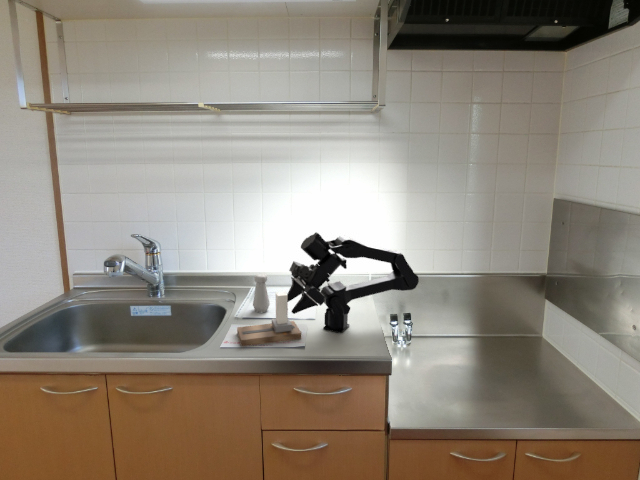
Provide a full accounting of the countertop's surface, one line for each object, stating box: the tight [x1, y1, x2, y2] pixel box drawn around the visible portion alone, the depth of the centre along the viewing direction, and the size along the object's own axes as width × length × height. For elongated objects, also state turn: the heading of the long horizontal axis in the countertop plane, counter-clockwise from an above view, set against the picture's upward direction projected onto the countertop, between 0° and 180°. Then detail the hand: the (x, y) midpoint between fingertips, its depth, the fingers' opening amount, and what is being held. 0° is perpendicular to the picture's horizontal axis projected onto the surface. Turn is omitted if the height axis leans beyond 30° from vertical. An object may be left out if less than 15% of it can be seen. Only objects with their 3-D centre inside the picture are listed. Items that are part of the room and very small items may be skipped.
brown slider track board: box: [236, 320, 302, 347], centre depth 135 cm, size 18×9×2 cm, turn 108°
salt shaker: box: [252, 273, 271, 313], centre depth 153 cm, size 6×6×13 cm
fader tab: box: [271, 291, 292, 333], centre depth 134 cm, size 5×6×11 cm
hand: (288, 307), depth 135 cm, fingers open, 9 cm apart
